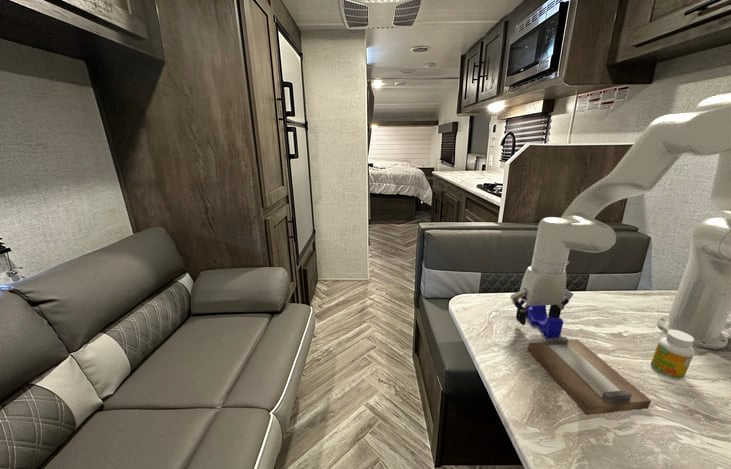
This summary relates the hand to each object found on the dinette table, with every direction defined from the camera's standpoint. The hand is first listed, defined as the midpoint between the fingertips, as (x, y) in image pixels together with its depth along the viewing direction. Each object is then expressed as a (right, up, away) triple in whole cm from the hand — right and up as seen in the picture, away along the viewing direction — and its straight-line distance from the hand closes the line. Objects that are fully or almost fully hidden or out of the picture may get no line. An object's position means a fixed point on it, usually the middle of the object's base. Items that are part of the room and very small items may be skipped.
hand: (536, 320), depth 81 cm
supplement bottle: (+20, -7, -16) cm, 26 cm away
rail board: (0, -7, -17) cm, 18 cm away
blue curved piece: (+1, -2, +1) cm, 2 cm away
